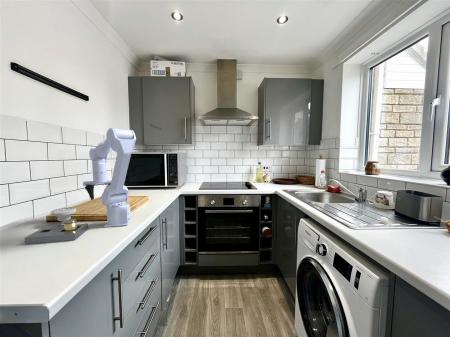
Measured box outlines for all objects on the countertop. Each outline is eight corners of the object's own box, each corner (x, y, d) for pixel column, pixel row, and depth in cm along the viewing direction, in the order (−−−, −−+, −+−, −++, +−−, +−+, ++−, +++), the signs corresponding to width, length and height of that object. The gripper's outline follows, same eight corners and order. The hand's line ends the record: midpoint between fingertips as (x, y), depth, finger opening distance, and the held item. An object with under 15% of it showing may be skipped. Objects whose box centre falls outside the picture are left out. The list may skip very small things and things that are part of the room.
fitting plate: (88, 228, 90) (88, 222, 89) (75, 240, 78) (74, 233, 78) (45, 232, 86) (45, 225, 86) (24, 244, 74) (24, 237, 74)
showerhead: (43, 211, 91) (63, 205, 101) (44, 227, 92) (64, 219, 102) (62, 211, 90) (80, 205, 100) (64, 227, 91) (81, 220, 101)
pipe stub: (79, 233, 84) (78, 219, 84) (69, 237, 80) (68, 222, 80) (72, 232, 85) (71, 218, 85) (62, 236, 81) (61, 221, 81)
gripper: (117, 171, 109) (118, 196, 110) (86, 172, 106) (88, 198, 107) (113, 172, 102) (114, 199, 103) (80, 173, 99) (82, 201, 100)
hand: (100, 199), depth 104 cm, fingers open, 7 cm apart
